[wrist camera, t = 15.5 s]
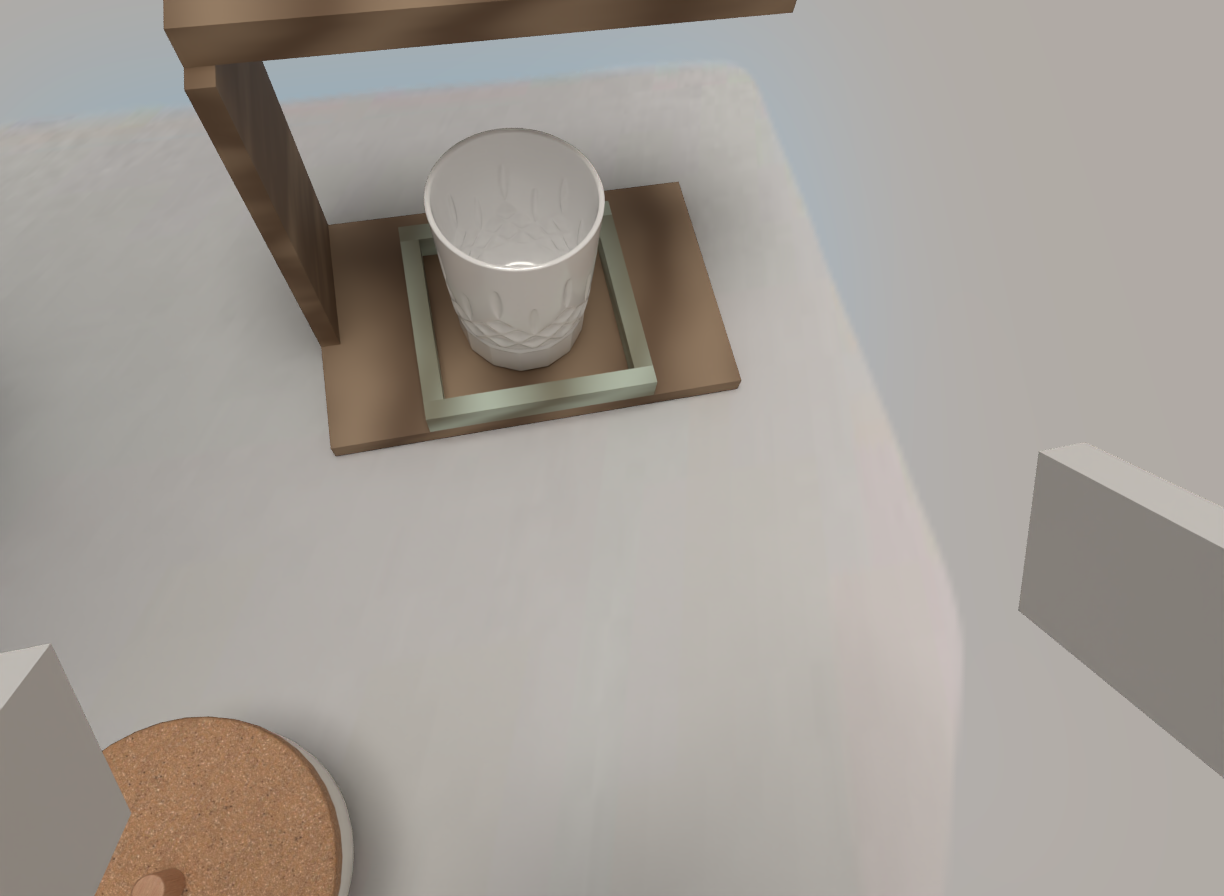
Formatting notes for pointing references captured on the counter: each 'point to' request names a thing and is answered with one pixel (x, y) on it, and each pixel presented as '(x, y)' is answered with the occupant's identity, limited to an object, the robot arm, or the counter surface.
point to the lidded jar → (226, 815)
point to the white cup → (516, 241)
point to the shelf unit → (404, 247)
